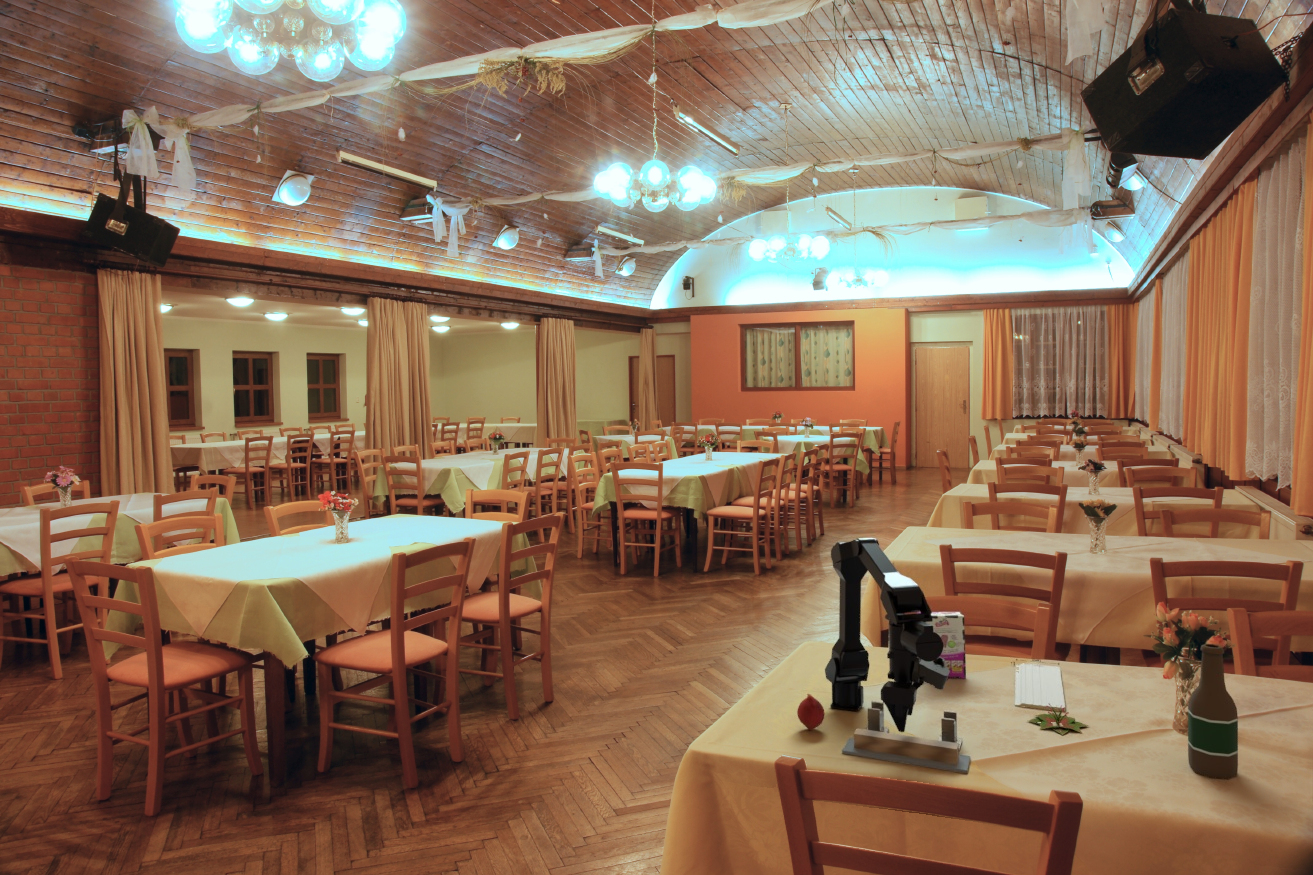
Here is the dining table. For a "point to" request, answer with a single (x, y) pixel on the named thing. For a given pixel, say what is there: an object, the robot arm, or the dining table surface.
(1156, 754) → the dining table surface
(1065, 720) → the lily flower
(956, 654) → the candy bar box
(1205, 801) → the dining table surface
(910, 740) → the rail
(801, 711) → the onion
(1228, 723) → the beer bottle
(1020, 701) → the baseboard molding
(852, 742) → the mat
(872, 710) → the post left
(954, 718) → the post right
